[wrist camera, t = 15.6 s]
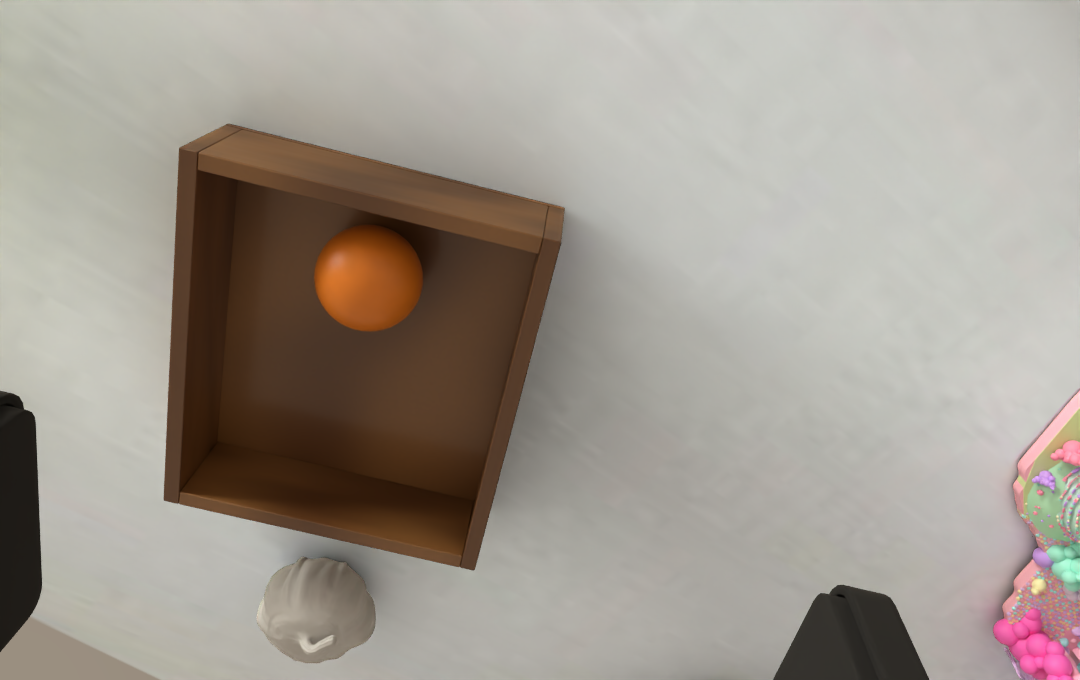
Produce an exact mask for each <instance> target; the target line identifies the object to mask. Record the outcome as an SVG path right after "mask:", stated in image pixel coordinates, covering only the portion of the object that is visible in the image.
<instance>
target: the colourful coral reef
mask: <svg viewBox="0 0 1080 680" xmlns="http://www.w3.org/2000/svg"><path fill="white" fill-rule="evenodd" d="M1018 471H1019V476H1018V478H1017V479H1016V481H1015V482H1014V484H1013V490H1014V493H1015V502H1016V505H1017V511H1018V513H1019V515H1020V516H1021V517H1022V519H1023V520H1024V521H1025V523H1026V524H1028V525H1029V528H1030V531H1031V532H1032V533H1033V535H1034V536H1035V537H1036V541H1037V544H1038V548H1036V549H1035V550H1034V552H1033V560H1032V561H1031V562H1030V563H1029V564H1028V565H1027V566H1026V567H1025V568H1024V569H1023V570H1022V571H1021V572H1020V574H1019V575H1018V576H1017V577H1016V578H1015V580H1014V582H1013V584H1014V592H1013V594H1012V595H1011V596H1010V597H1009V598H1008V599H1007V600H1006V601H1005V603H1004V604H1003V606H1002V610H1003V613H1004V619H1001V620H999V621H997V622H996V623H995V625H994V628H993V632H994V636H995V638H996V639H997V640H998V641H999V642H1000V643H1002V644H1005V645H1008V647H1009V650H1010V652H1011V653H1012V655H1013V656H1014V657H1015V658H1016V659H1017V660H1018V661H1017V663H1015V661H1014V659H1013V658H1012V656H1011V654H1010V653H1009V651H1008V649H1007V648H1004V650H1005V652H1006V653H1007V655H1008V656H1009V658H1010V660H1011V662H1012V664H1013V666H1014V668H1015V670H1016V672H1017V674H1018V676H1019V677H1021V678H1020V679H1022V680H1035V679H1036V680H1080V391H1079V392H1078V393H1077V394H1076V395H1075V396H1074V397H1073V398H1072V400H1071V401H1070V402H1069V403H1068V404H1067V405H1066V406H1065V408H1064V409H1063V410H1062V411H1061V412H1060V413H1059V415H1058V416H1057V417H1056V418H1055V419H1054V421H1053V422H1052V423H1051V424H1050V425H1049V426H1048V428H1047V429H1046V430H1045V431H1044V432H1043V434H1042V435H1041V436H1040V437H1039V438H1038V440H1037V441H1036V442H1035V443H1034V444H1033V445H1032V447H1031V448H1030V449H1029V450H1028V451H1027V452H1026V454H1025V455H1024V456H1023V457H1022V458H1021V460H1020V461H1019V463H1018ZM1032 537H1033V536H1032ZM1034 678H1035V679H1034Z"/></svg>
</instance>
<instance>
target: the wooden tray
mask: <svg viewBox="0 0 1080 680" xmlns="http://www.w3.org/2000/svg"><path fill="white" fill-rule="evenodd" d="M564 211H565V208H564V207H560V206H556V205H552V204H548V203H544V202H540V201H536V200H532V199H528V198H524V197H520V196H516V195H512V194H508V193H504V192H500V191H496V190H492V189H488V188H484V187H480V186H476V185H472V184H468V183H464V182H460V181H456V180H452V179H448V178H444V177H440V176H436V175H432V174H428V173H424V172H420V171H416V170H412V169H408V168H404V167H400V166H396V165H392V164H388V163H384V162H380V161H376V160H372V159H368V158H364V157H360V156H356V155H352V154H348V153H344V152H340V151H336V150H332V149H328V148H324V147H320V146H316V145H312V144H308V143H304V142H300V141H296V140H292V139H288V138H284V137H280V136H276V135H272V134H268V133H264V132H260V131H256V130H252V129H248V128H244V127H240V126H236V125H232V124H226V125H225V126H223V127H221V128H219V129H216V130H214V131H212V132H210V133H208V134H206V135H204V136H202V137H200V138H198V139H196V140H194V141H192V142H190V143H188V144H186V145H184V146H182V147H180V148H179V165H178V187H177V210H176V232H175V255H174V278H173V300H172V323H171V346H170V368H169V391H168V413H167V436H166V459H165V481H164V501H168V502H172V503H177V504H178V503H179V504H182V505H186V506H190V507H195V508H199V509H204V510H208V511H213V512H217V513H221V514H226V515H230V516H235V517H239V518H244V519H248V520H252V521H257V522H261V523H266V524H270V525H275V526H279V527H283V528H288V529H292V530H297V531H301V532H306V533H310V534H314V535H319V536H323V537H328V538H332V539H337V540H341V541H345V542H350V543H354V544H359V545H363V546H367V547H372V548H376V549H381V550H385V551H390V552H394V553H398V554H403V555H407V556H412V557H416V558H421V559H425V560H429V561H434V562H438V563H443V564H447V565H452V566H456V567H461V568H465V569H469V570H475V567H476V563H477V559H478V556H479V552H480V548H481V544H482V540H483V537H484V533H485V529H486V525H487V522H488V518H489V514H490V510H491V506H492V503H493V499H494V495H495V491H496V487H497V484H498V480H499V476H500V472H501V469H502V465H503V461H504V457H505V453H506V450H507V446H508V442H509V438H510V435H511V431H512V427H513V423H514V419H515V416H516V412H517V408H518V404H519V401H520V397H521V393H522V389H523V385H524V382H525V378H526V374H527V370H528V367H529V363H530V359H531V355H532V351H533V348H534V344H535V340H536V336H537V332H538V329H539V325H540V321H541V317H542V314H543V310H544V306H545V302H546V298H547V295H548V291H549V287H550V283H551V280H552V276H553V272H554V268H555V264H556V261H557V257H558V253H559V249H560V246H561V239H562V230H563V221H564ZM358 225H377V226H382V227H385V228H388V229H390V230H393V231H395V232H396V233H398V234H399V235H401V236H402V237H403V238H405V239H406V240H407V241H408V242H409V243H410V245H411V246H412V247H413V249H414V250H415V252H416V253H417V256H418V258H419V260H420V263H421V266H422V272H423V286H422V291H421V295H420V298H419V300H418V302H417V304H416V306H415V307H414V309H413V310H412V312H411V313H410V314H409V315H408V316H407V317H406V318H405V319H404V320H402V321H401V322H399V323H398V324H396V325H394V326H392V327H390V328H387V329H384V330H380V331H371V332H369V331H359V330H354V329H351V328H349V327H346V326H344V325H342V324H341V323H339V322H337V321H336V320H335V319H334V318H332V317H331V316H330V315H329V314H328V313H327V311H326V310H325V309H324V307H323V306H322V304H321V302H320V300H319V298H318V296H317V293H316V289H315V282H314V271H315V266H316V262H317V259H318V256H319V254H320V252H321V251H322V249H323V248H324V246H325V245H326V244H327V242H328V241H329V240H330V239H331V238H333V237H334V236H335V235H337V234H338V233H339V232H341V231H343V230H345V229H348V228H351V227H354V226H358Z"/></svg>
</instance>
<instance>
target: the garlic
mask: <svg viewBox="0 0 1080 680" xmlns="http://www.w3.org/2000/svg"><path fill="white" fill-rule="evenodd" d="M375 621H376V615H375V605H374V601H373V599H372V597H371V596H370V594H369V593H368V591H367V590H366V585H365V582H364V580H363V579H362V578H361V577H360V576H359V575H358V574H357V573H356V572H355V571H354V570H352V569H351V568H350V567H349V566H348V564H347V563H346V562H342V563H341V562H337V561H334V560H331V559H329V558H325V557H323V558H318V559H309V558H307V557H301V558H300V559H299V560H298V561H297V562H296V563H294V564H291V565H288V566H285V567H283V568H281V569H280V570H278V571H277V572H276V573H275V574H274V575H273V576H272V578H271V579H270V581H269V583H268V585H267V587H266V590H265V594H264V598H263V600H262V601H261V603H260V606H259V609H258V613H257V624H258V626H259V628H260V629H261V630H262V632H263V633H264V634H265V635H266V637H267V639H268V640H269V641H270V642H271V644H272V645H274V646H275V647H276V648H277V649H278V650H280V651H281V652H282V653H284V654H285V655H287V656H289V657H291V658H292V659H293V660H295V661H301V662H304V663H320V662H323V661H325V660H330V659H337V658H339V657H341V656H342V655H344V654H345V652H347V651H348V650H350V649H351V648H354V647H356V646H359V645H361V644H363V643H365V642H366V641H367V640H368V639H369V638H370V637H371V635H372V633H373V631H374V628H375Z"/></svg>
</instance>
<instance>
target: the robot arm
mask: <svg viewBox="0 0 1080 680" xmlns="http://www.w3.org/2000/svg"><path fill="white" fill-rule="evenodd" d="M41 589H42V572H41V546H40V521H39V495H38V470H37V445H36V422H35V417H34V415H33V414H32V412H30V411H28V410H24V407H23V402H22V401H21V399H20V397H19V396H17V395H15V394H12V393H8V392H3V391H0V652H1V650H2V649H3V648H4V647H5V646H6V645H7V643H8V642H9V641H10V640H11V639H12V637H13V636H14V635H15V634H16V633H17V631H18V630H19V629H20V628H21V627H22V625H23V624H24V623H25V622H26V621H27V620H28V618H29V617H30V615H31V614H32V613H33V611H34V609H35V607H36V605H37V603H38V600H39V597H40V594H41ZM773 680H929V678H928V676H927V674H926V671H925V669H924V667H923V665H922V663H921V661H920V658H919V656H918V654H917V652H916V650H915V647H914V645H913V643H912V641H911V639H910V637H909V634H908V632H907V630H906V628H905V626H904V623H903V621H902V619H901V617H900V615H899V613H898V610H897V608H896V606H895V604H894V603H893V601H892V600H891V598H890V597H888V596H886V595H884V594H880V593H876V592H871V591H867V590H863V589H858V588H854V587H850V586H845V585H837V586H836V587H835V588H833V589H832V591H831V592H830V594H825V593H820V594H819V595H818V596H817V597H816V598H815V600H814V601H813V603H812V605H811V607H810V609H809V611H808V613H807V615H806V617H805V619H804V621H803V623H802V624H801V626H800V628H799V630H798V632H797V634H796V636H795V638H794V640H793V642H792V644H791V646H790V648H789V650H788V652H787V654H786V656H785V658H784V660H783V662H782V663H781V665H780V667H779V669H778V671H777V673H776V675H775V677H774V679H773Z"/></svg>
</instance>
